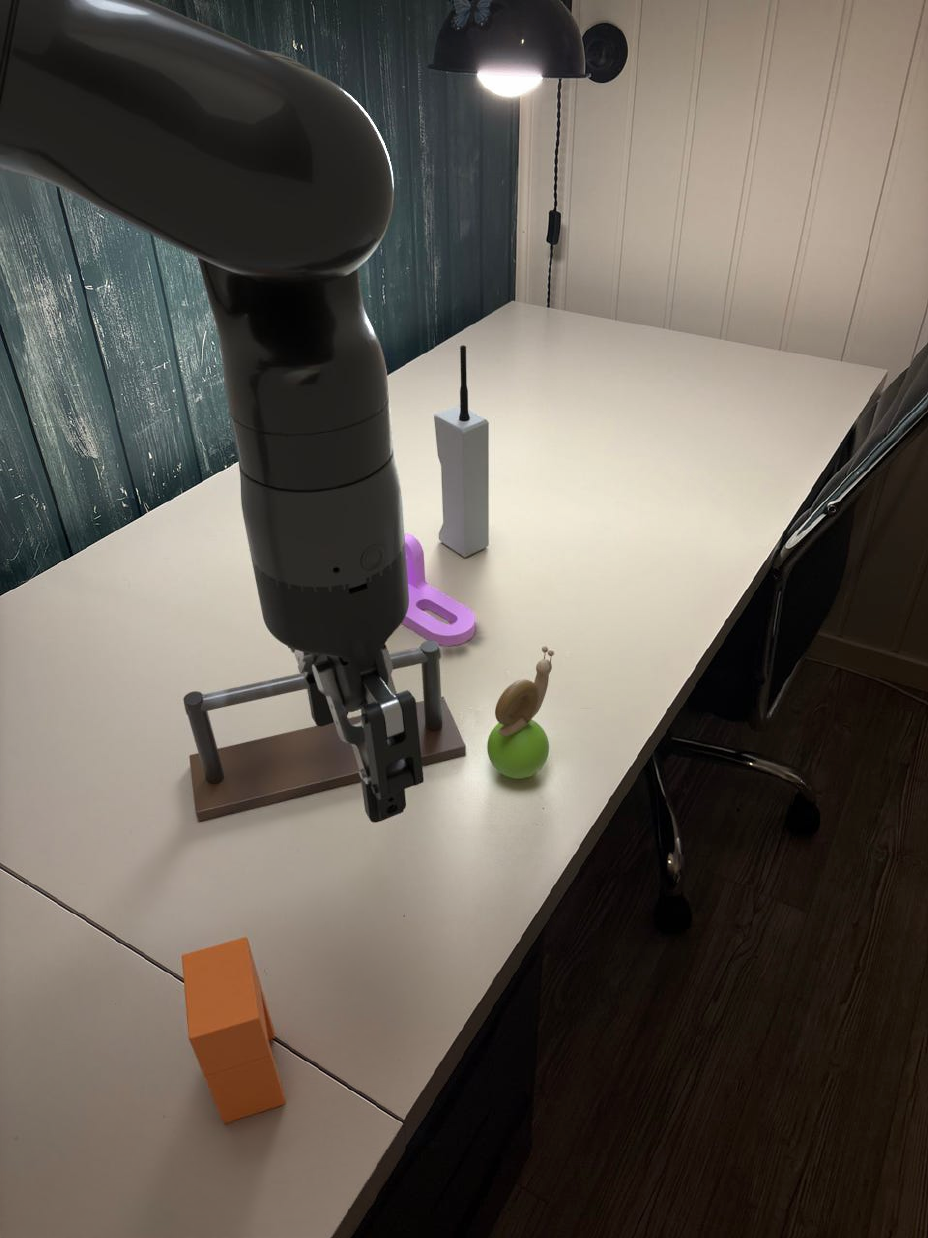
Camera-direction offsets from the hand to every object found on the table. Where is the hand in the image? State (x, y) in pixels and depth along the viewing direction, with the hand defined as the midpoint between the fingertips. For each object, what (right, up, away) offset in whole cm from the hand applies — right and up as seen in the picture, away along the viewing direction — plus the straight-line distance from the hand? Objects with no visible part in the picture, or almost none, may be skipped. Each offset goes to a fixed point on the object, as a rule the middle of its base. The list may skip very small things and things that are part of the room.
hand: (357, 764), depth 55 cm
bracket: (+2, +9, +45) cm, 46 cm away
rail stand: (-6, -4, +29) cm, 30 cm away
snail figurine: (+12, -5, +28) cm, 31 cm away
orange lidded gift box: (-8, -22, +7) cm, 24 cm away
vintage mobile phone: (+6, +17, +56) cm, 59 cm away
